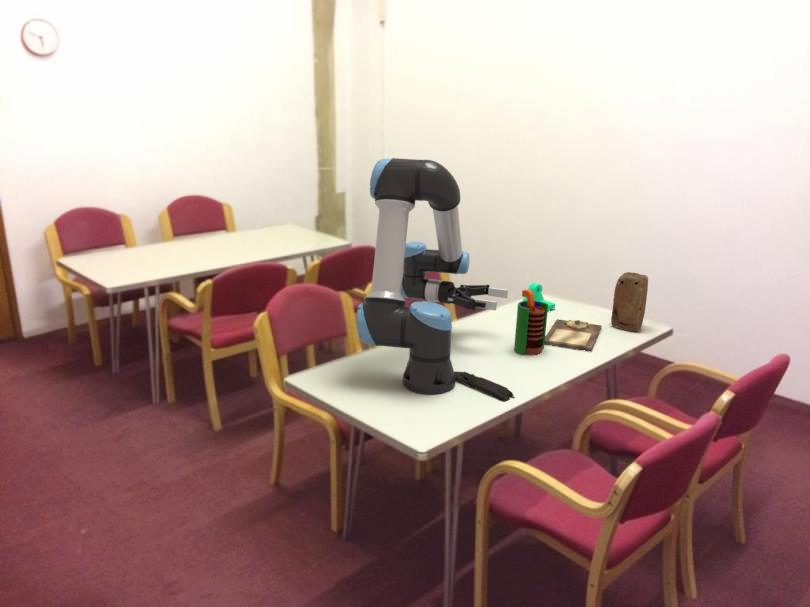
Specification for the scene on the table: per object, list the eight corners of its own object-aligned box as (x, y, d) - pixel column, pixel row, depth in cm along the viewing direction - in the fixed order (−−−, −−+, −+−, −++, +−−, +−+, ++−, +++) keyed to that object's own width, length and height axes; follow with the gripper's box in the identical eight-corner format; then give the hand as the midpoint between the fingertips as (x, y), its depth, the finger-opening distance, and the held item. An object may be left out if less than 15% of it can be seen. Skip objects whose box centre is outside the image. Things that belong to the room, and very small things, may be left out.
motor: (533, 358, 214) (538, 297, 208) (508, 351, 219) (512, 292, 213) (547, 349, 221) (552, 290, 215) (523, 343, 227) (527, 285, 221)
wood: (522, 396, 188) (522, 386, 187) (505, 404, 183) (505, 393, 182) (463, 372, 203) (463, 363, 202) (446, 379, 198) (446, 369, 197)
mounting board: (542, 344, 226) (542, 335, 225) (556, 322, 248) (557, 313, 247) (591, 351, 220) (591, 342, 219) (601, 328, 242) (602, 320, 241)
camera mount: (535, 316, 255) (537, 289, 252) (520, 310, 261) (522, 285, 257) (555, 310, 262) (558, 284, 259) (540, 305, 268) (542, 280, 265)
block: (644, 328, 242) (651, 274, 236) (637, 334, 237) (644, 279, 231) (615, 322, 249) (621, 269, 243) (607, 327, 243) (613, 273, 237)
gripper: (452, 291, 239) (511, 299, 231) (427, 313, 217) (490, 322, 210) (453, 271, 237) (512, 278, 229) (427, 291, 215) (491, 299, 207)
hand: (502, 299), depth 219 cm, fingers open, 13 cm apart
